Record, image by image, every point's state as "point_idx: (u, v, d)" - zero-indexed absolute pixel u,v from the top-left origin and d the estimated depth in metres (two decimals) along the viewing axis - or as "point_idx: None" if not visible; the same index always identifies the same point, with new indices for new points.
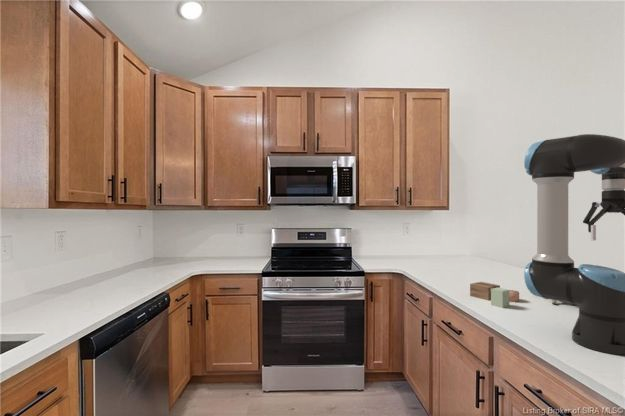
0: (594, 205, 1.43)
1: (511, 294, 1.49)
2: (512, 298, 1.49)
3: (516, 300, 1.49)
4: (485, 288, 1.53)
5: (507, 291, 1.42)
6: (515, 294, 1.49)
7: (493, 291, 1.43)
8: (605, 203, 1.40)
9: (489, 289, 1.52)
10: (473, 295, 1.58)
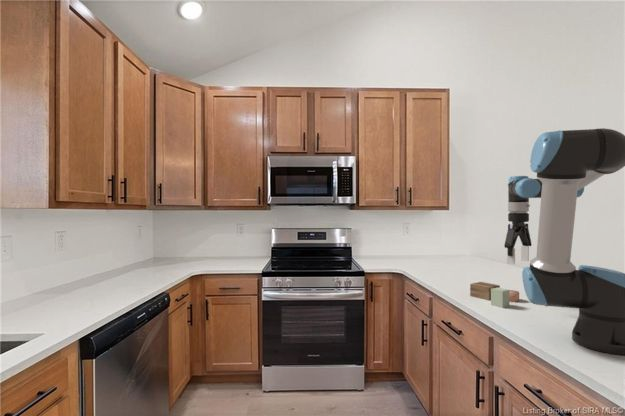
0: None
1: (511, 294, 1.49)
2: (512, 298, 1.49)
3: (516, 300, 1.49)
4: (486, 288, 1.52)
5: (507, 291, 1.42)
6: (515, 294, 1.49)
7: (494, 291, 1.43)
8: None
9: (490, 289, 1.52)
10: (473, 295, 1.57)
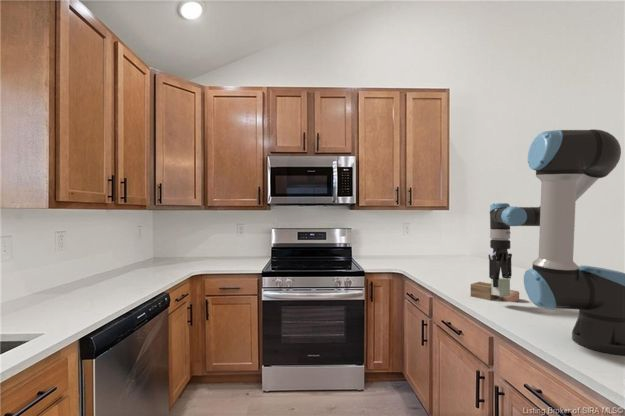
0: None
1: (511, 294, 1.49)
2: (512, 298, 1.49)
3: (516, 300, 1.49)
4: (487, 288, 1.52)
5: (507, 280, 1.41)
6: (515, 294, 1.49)
7: None
8: None
9: None
10: (474, 295, 1.57)
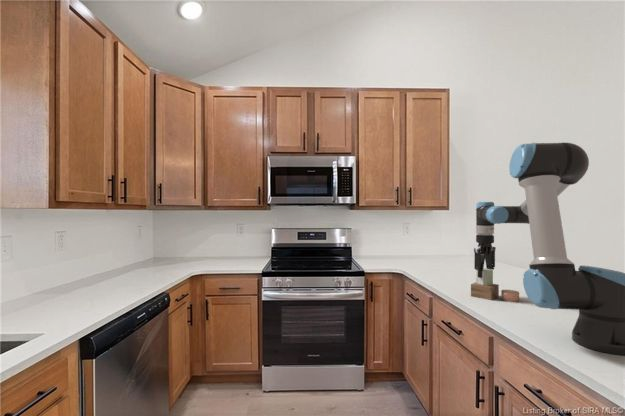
0: None
1: (511, 294, 1.49)
2: (512, 298, 1.49)
3: (516, 300, 1.49)
4: (487, 288, 1.53)
5: (491, 271, 1.57)
6: (515, 294, 1.49)
7: None
8: None
9: (491, 289, 1.52)
10: (474, 295, 1.57)
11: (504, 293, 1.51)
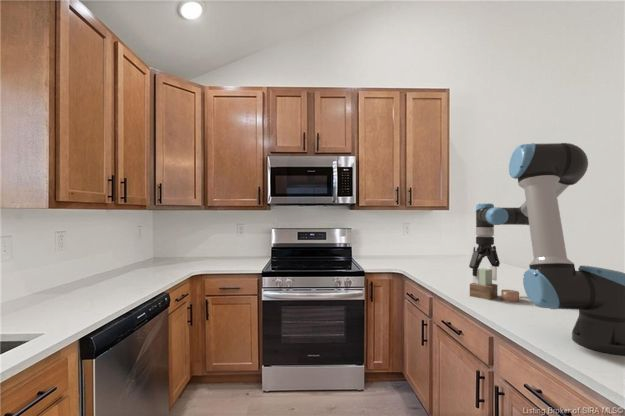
0: None
1: (511, 294, 1.49)
2: (512, 298, 1.49)
3: (516, 300, 1.49)
4: (486, 288, 1.53)
5: (490, 270, 1.57)
6: (515, 294, 1.49)
7: None
8: None
9: (490, 289, 1.53)
10: (473, 295, 1.58)
11: (504, 293, 1.51)
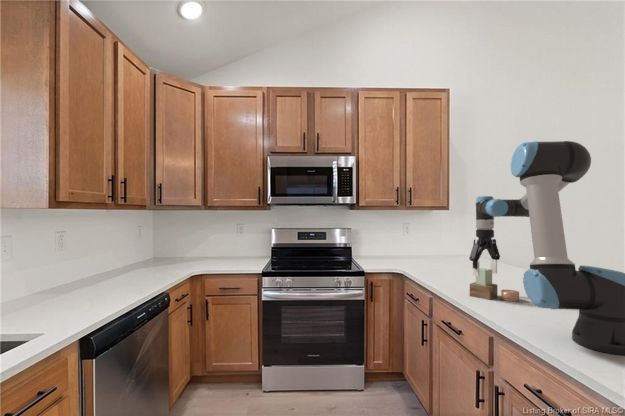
0: None
1: (511, 294, 1.49)
2: (512, 298, 1.49)
3: (516, 300, 1.49)
4: (486, 288, 1.53)
5: (490, 271, 1.57)
6: (515, 294, 1.49)
7: None
8: None
9: (490, 289, 1.53)
10: (473, 295, 1.57)
11: (504, 293, 1.51)
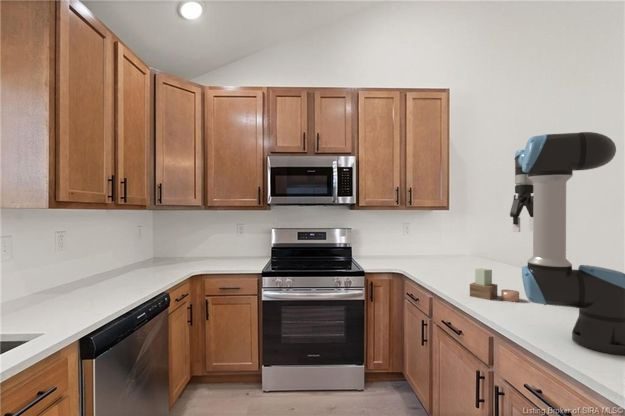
0: None
1: (511, 294, 1.49)
2: (512, 298, 1.49)
3: (516, 300, 1.49)
4: (486, 288, 1.53)
5: (489, 271, 1.57)
6: (515, 294, 1.49)
7: (477, 271, 1.59)
8: None
9: (490, 289, 1.52)
10: (473, 295, 1.57)
11: (504, 293, 1.51)
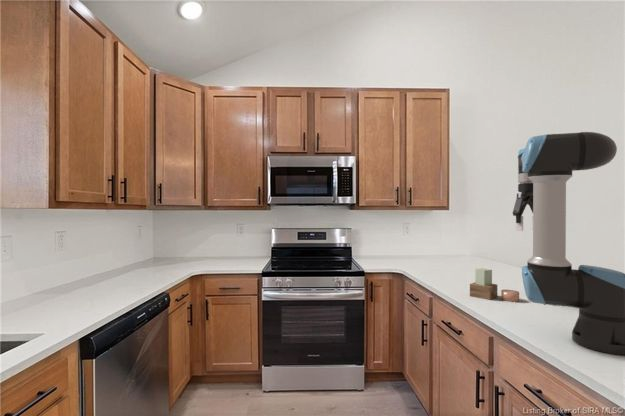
0: None
1: (511, 294, 1.49)
2: (512, 298, 1.49)
3: (516, 300, 1.49)
4: (486, 288, 1.53)
5: (489, 271, 1.57)
6: (515, 294, 1.49)
7: (477, 271, 1.59)
8: None
9: (490, 289, 1.52)
10: (473, 295, 1.57)
11: (504, 293, 1.51)
